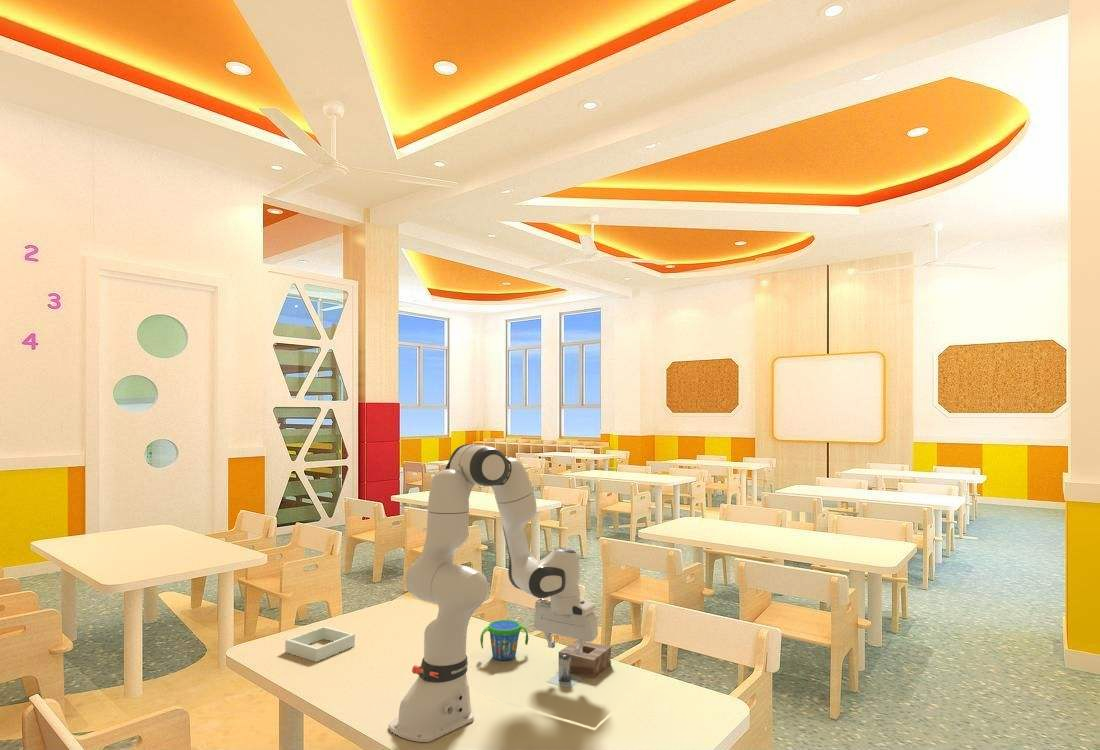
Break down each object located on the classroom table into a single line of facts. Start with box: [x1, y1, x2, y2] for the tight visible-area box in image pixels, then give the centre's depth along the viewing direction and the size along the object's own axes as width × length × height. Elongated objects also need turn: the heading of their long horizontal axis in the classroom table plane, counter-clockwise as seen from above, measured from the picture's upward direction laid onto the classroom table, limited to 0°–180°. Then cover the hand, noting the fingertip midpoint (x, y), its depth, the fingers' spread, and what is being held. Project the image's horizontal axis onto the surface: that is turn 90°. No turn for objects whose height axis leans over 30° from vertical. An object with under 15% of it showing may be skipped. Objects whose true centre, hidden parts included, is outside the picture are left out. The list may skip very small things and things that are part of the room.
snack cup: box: [479, 619, 529, 661], centre depth 203 cm, size 16×10×10 cm
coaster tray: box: [284, 625, 356, 663], centre depth 209 cm, size 16×16×4 cm
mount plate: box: [545, 672, 583, 689], centre depth 185 cm, size 8×8×1 cm
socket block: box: [558, 639, 612, 680], centre depth 194 cm, size 12×12×6 cm
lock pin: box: [558, 653, 572, 682], centre depth 185 cm, size 4×4×7 cm
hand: (565, 650), depth 185 cm, fingers open, 8 cm apart
